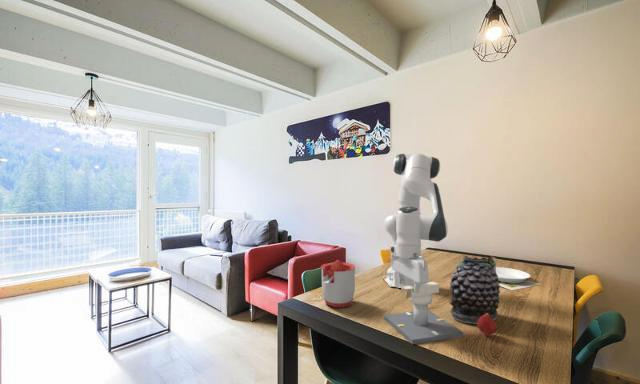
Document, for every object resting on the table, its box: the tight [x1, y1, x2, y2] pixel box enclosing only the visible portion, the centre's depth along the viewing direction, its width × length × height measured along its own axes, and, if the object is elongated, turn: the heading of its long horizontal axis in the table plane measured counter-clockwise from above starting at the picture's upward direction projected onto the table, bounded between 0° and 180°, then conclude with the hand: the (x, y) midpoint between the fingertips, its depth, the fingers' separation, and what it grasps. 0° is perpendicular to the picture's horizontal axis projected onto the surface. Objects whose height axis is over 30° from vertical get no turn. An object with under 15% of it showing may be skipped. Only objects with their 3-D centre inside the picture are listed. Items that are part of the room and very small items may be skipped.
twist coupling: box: [400, 281, 440, 306], centre depth 107 cm, size 15×8×6 cm, turn 112°
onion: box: [476, 313, 498, 337], centre depth 100 cm, size 6×6×8 cm
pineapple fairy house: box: [448, 255, 501, 325], centre depth 114 cm, size 21×15×25 cm
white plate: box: [496, 266, 531, 284], centre depth 166 cm, size 25×25×4 cm
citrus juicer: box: [320, 259, 356, 308], centre depth 130 cm, size 16×17×20 cm
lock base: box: [383, 303, 464, 345], centre depth 107 cm, size 20×20×10 cm
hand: (408, 288), depth 106 cm, fingers open, 8 cm apart
